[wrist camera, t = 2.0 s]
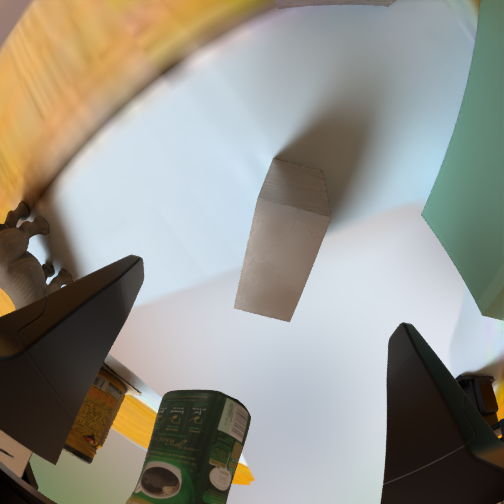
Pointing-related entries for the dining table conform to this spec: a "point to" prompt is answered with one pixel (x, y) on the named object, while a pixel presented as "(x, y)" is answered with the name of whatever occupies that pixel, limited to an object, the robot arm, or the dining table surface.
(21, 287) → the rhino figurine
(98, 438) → the condiment
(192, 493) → the coffee jar
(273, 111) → the dining table surface
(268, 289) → the block
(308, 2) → the block
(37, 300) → the robot arm
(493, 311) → the teal box
